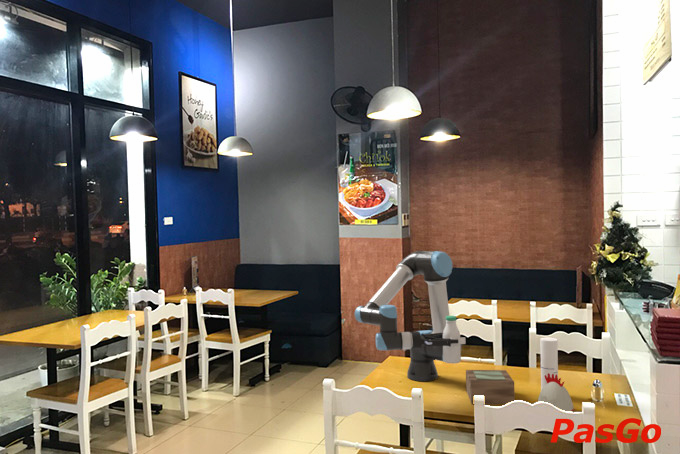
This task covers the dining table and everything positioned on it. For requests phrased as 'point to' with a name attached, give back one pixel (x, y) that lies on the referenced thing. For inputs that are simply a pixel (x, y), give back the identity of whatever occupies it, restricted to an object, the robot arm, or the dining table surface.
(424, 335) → the robot arm
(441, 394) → the dining table surface
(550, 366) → the cylindrical container
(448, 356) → the milk bottle
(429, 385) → the dining table surface
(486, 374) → the walnut stand
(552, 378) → the kitchen timer
